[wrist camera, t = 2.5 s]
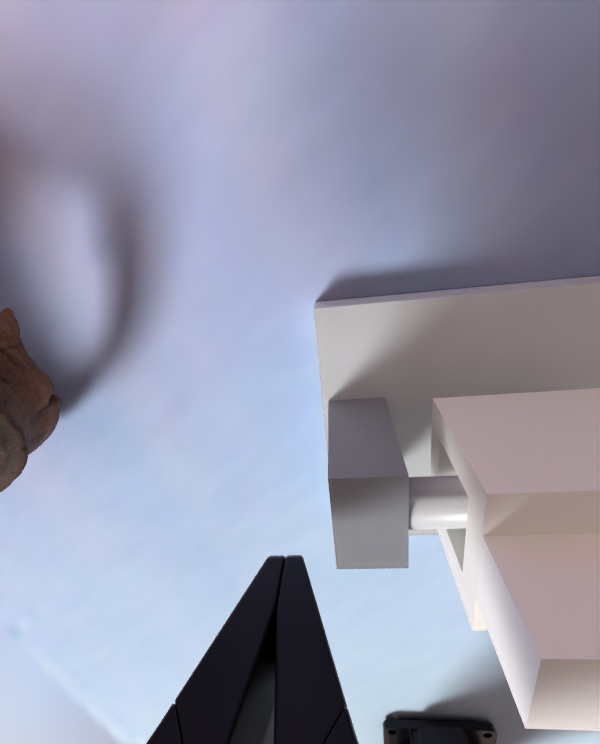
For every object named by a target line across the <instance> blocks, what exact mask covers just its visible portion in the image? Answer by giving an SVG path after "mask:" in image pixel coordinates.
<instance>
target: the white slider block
mask: <svg viewBox="0 0 600 744" xmlns="http://www.w3.org/2000/svg"><path fill="white" fill-rule="evenodd" d="M451 475H458V477H459V479H460V481H461V483H462V485H463V487H464V489H465V491H466V493H467V495H468V497H469V502H468V514H467V525H466V528H462V529H437V530H438V533H439V536H440V539H441V542H442V545H443V547H444V550H445V553H446V556H447V559H448V562H449V565H450V568H451V571H452V573H453V576H454V579H455V582H456V585H457V588H458V591H459V594H460V597H461V599H462V602H463V605H464V608H465V611H466V614H467V617H468V620H469V623H470V625H471V628H472V631H488V632H489V635H490V638H491V640H492V643H493V645H494V648H495V651H496V653H497V656H498V659H499V661H500V664H501V666H502V669H503V672H504V674H505V677H506V679H507V682H508V685H509V687H510V690H511V692H512V695H513V698H514V700H515V703H516V705H517V708H518V711H519V713H520V716H521V719H522V721H523V724H524V726H525V729H553V730H586V731H600V388H592V389H576V390H559V391H543V392H527V393H511V394H495V395H479V396H463V397H447V398H433V403H432V433H431V463H430V476H451Z"/></svg>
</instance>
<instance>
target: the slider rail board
mask: <svg viewBox="0 0 600 744" xmlns="http://www.w3.org/2000/svg"><path fill="white" fill-rule="evenodd" d="M314 314H315V325H316V335H317V346H318V356H319V367H320V377H321V388H322V398H323V409H324V419H325V430H326V440H327V451H328V482H329V493H330V503H331V513H332V523H333V534H334V544H335V554H336V564H337V569H376V568H408V536H413V535H439V533H438V530H437V529H462V528H466V525H467V514H468V502H469V497H468V495H467V493H466V491H465V489H464V487H463V485H462V483H461V481H460V479H459V477H458V475H451V476H430V463H431V433H432V403H433V398H447V397H463V396H479V395H495V394H511V393H527V392H543V391H559V390H576V389H592V388H600V276H590V277H579V278H569V279H558V280H547V281H536V282H525V283H515V284H504V285H493V286H482V287H472V288H461V289H450V290H439V291H428V292H418V293H407V294H396V295H385V296H374V297H364V298H353V299H342V300H331V301H321V302H315V305H314Z"/></svg>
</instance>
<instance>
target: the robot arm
mask: <svg viewBox="0 0 600 744" xmlns="http://www.w3.org/2000/svg"><path fill="white" fill-rule="evenodd" d="M175 704H176V705H175ZM175 704H172V705H171V707H170V709H169V710H168V712H167V713H166V715H165V716H164V718H163V719H162V721H161V723H160V724H159V726H158V727H157V729H156V730H155V731H154V733H153V734H152V736H151V737H150V739H149V740H148V742H147V743H146V744H359V743H358V740H357V737H356V734H355V731H354V727H353V724H352V721H351V717H350V714H349V711H348V709H347V705H346V701H345V698H344V694H343V691H342V688H341V684H340V681H339V677H338V674H337V671H336V667H335V664H334V661H333V657H332V654H331V650H330V647H329V644H328V640H327V637H326V633H325V630H324V627H323V623H322V620H321V617H320V613H319V610H318V606H317V603H316V600H315V596H314V593H313V590H312V586H311V583H310V579H309V576H308V573H307V569H306V566H305V563H304V559H303V557H302V556H301V555H289V556H287V557H286V558H285V556H269V557H268V558H267V559H266V561H265V562H264V564H263V566H262V567H261V569H260V570H259V572H258V573H257V575H256V576H255V578H254V579H253V581H252V582H251V584H250V586H249V587H248V589H247V590H246V592H245V593H244V595H243V596H242V598H241V599H240V601H239V603H238V604H237V606H236V607H235V609H234V610H233V612H232V613H231V615H230V616H229V618H228V619H227V621H226V623H225V624H224V626H223V627H222V629H221V630H220V632H219V633H218V635H217V636H216V638H215V640H214V641H213V643H212V644H211V646H210V647H209V649H208V650H207V652H206V653H205V655H204V656H203V658H202V660H201V661H200V663H199V664H198V666H197V667H196V669H195V670H194V672H193V673H192V675H191V676H190V678H189V680H188V681H187V683H186V684H185V686H184V687H183V689H182V690H181V692H180V693H179V695H178V697H177V698H176V700H175ZM496 737H497V735H496V732H495V728H494V725H493V724H491V723H488V722H462V721H427V720H393V719H390V720H385V721H384V722H383V740H384V744H495V743H496Z"/></svg>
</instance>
